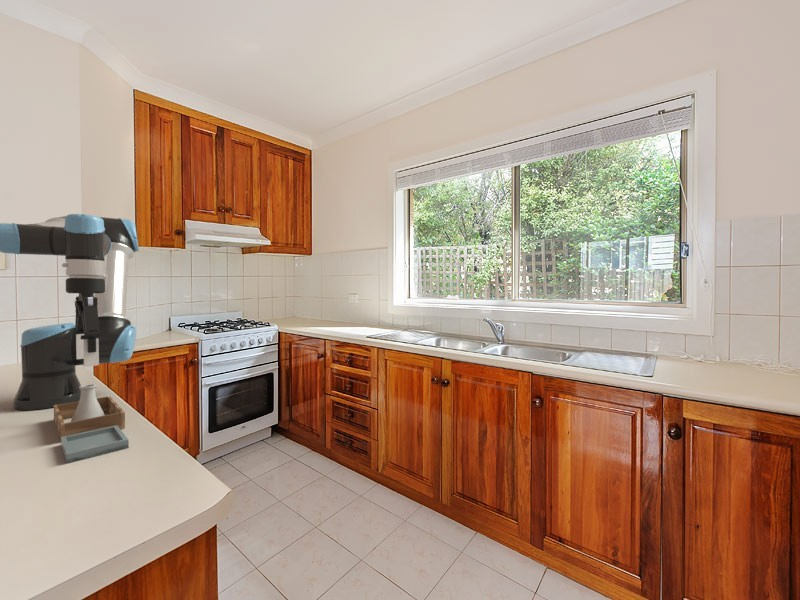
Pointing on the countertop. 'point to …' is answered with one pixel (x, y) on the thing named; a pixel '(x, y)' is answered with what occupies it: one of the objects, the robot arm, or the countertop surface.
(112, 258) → the robot arm
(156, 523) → the countertop surface
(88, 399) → the flask
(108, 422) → the caddy
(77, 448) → the tray
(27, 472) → the countertop surface
